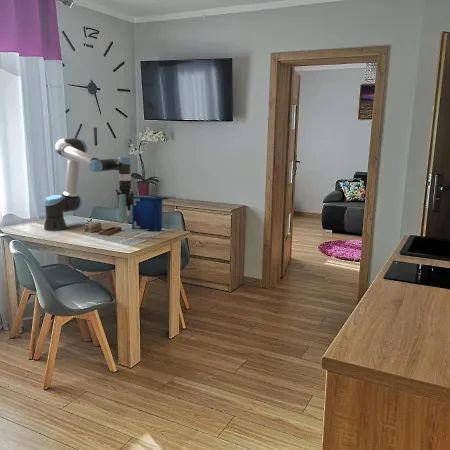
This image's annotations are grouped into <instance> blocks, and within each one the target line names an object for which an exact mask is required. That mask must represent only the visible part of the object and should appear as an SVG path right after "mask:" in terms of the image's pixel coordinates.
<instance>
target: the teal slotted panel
mask: <svg viewBox="0 0 450 450" xmlns="http://www.w3.org/2000/svg"><path fill="white" fill-rule="evenodd" d="M129 196H130V195H129ZM126 206H127V201H126V194H121V195H119V204H118V221H119V223H124V222H128V221H130V220H131V221H132V205H130V210H129V214H130V215H128V216H126Z"/></svg>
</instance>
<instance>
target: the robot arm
mask: <svg viewBox="0 0 450 450" xmlns="http://www.w3.org/2000/svg"><path fill="white" fill-rule="evenodd" d="M86 143H87V142H85V140H83V139H82V138H76V137H75V138H69V137H68V138H67V137H66V138H61V139H59V140H57V142H56V143H55V152H56V153H57V154H58V155H60V156H61V157H63V158H66V159H67V161H66V162H67V163H66V172H65V173H66V175H65V184H64V185H65V187H64V191H62V193H61V194H53V195H49V196H47V197H46V198H45V199H44V205H45V206H44V207H45V222H44V225H43V229H44V230H45V231H62V230H63V231H64V230H65V229H67V223H66V220H65V219H64V213H69V212H75V211H78V210H80V208H81V207H82V203H83V202H82V201H83V200H82V197H81V196H80V193H78V189H79V188H78V186H79V177H80V167H81V165H84V166H86V167H88V169H89V170H90V171H92V172H93V173H95V172H96V173H98V172H108V171H110V172H111V171H118V180H119V181H118V182H119V183H118V184H119V185H118V186H119V188H118V189H115V192H116V194H117V203H118V205H119V195H121V194H126V201H127V206H126V216H128V215H130V214H129V210H130V205H133V196H135V192H136V191H135V190H134V189H132V187H131V185H132V179H131V178H132V177H131V176H132V175H131V158H130V157H129V156H123V155H122V156H119V157H118V158H106V159H99V158H98V157H95V156H93V155H91V154H89V153H87V152H88V146H87V144H86ZM129 195H130V196H129Z"/></svg>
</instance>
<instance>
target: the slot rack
mask: <svg viewBox="0 0 450 450" xmlns="http://www.w3.org/2000/svg"><path fill="white" fill-rule="evenodd" d="M125 231H126V230H125V229H122V227H120V226H110V227H108V228H105V229H104V228H103V229H101V230H98V231H97V232H96V233H95V235H97V236H107V237H111V236H114V235H117V234H120V233H122V232H125Z"/></svg>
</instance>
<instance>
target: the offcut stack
mask: <svg viewBox="0 0 450 450" xmlns="http://www.w3.org/2000/svg"><path fill="white" fill-rule="evenodd" d="M101 230H104V228H103V227H102V222H101V221H94V222H89V223H85V224H84V230H83V232H84V233H94V232H98V231H101Z"/></svg>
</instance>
